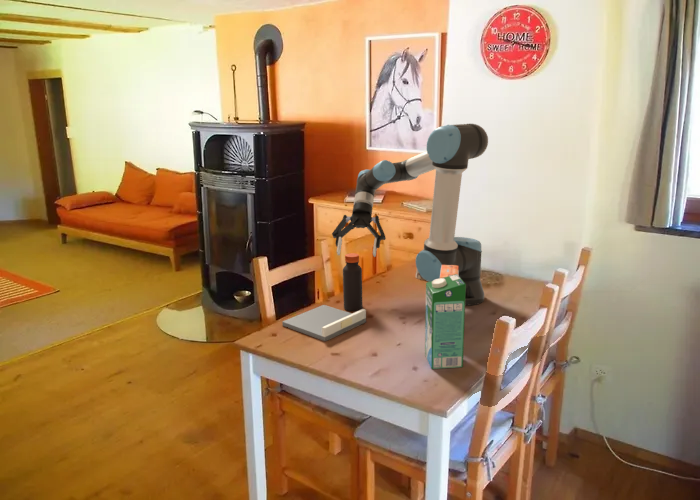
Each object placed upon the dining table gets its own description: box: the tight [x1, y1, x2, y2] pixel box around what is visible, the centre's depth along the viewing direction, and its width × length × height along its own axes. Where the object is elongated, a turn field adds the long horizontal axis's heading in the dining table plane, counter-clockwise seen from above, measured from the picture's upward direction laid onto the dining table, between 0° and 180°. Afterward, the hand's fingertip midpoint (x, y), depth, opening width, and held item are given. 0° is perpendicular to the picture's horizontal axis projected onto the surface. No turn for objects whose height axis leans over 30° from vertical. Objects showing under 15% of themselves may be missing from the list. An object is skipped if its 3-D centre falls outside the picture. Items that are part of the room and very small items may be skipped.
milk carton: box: [424, 274, 466, 370], centre depth 161 cm, size 9×9×25 cm
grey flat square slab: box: [281, 304, 367, 342], centre depth 192 cm, size 20×20×4 cm
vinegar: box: [342, 252, 363, 312], centre depth 203 cm, size 7×7×20 cm
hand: (356, 254), depth 210 cm, fingers open, 13 cm apart
